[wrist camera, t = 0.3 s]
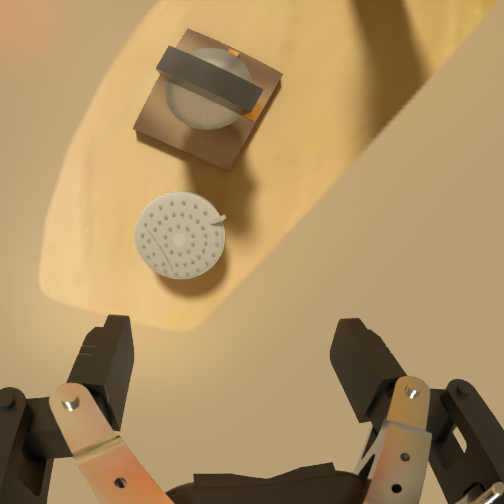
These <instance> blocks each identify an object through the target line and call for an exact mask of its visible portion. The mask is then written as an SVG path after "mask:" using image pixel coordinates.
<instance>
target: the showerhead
mask: <svg viewBox="0 0 504 504" xmlns="http://www.w3.org/2000/svg"><path fill="white" fill-rule="evenodd" d="M225 218H226V216H225V215H222V216H220V214H219V213H218V211H217V210H216V208H215V207H214V206H213V205H212V204H211V203H210V202H209V201H208V200H207V199H205V198H204V197H202V196H200V195H198V194H195V193H192V192H187V191H173V192H168V193H165V194H162V195H160V196H158V197H157V198H155V199H154V200H152V201H151V202H150V203H149V204H148V205H147V206H146V208H145V209H144V210H143V211H142V213H141V214H140V216H139V218H138V221H137V224H136V228H135V243H136V247H137V250H138V252H139V255H140V256H141V258H142V260H143V261H144V262H145V263H146V265H147V266H148V267H150V268H151V269H152V270H153V271H155V272H156V273H158V274H160V275H162V276H165V277H168V278H172V279H190V278H194V277H197V276H199V275H201V274H203V273H205V272H207V271H208V270H209V269H210V268H212V267H213V266H214V265H215V263H216V262H217V261H218V259H219V258H220V256H221V254H222V252H223V249H224V245H225V229H224V225H223V222H222V221H223V220H224V219H225Z"/></svg>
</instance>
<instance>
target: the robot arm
mask: <svg viewBox="0 0 504 504" xmlns="http://www.w3.org/2000/svg"><path fill="white" fill-rule="evenodd" d="M330 361H331V364H332V366H333V368H334V370H335V372H336V374H337V377H338V379H339V381H340V383H341V385H342V387H343V389H344V391H345V393H346V395H347V398H348V400H349V402H350V404H351V406H352V408H353V410H354V412H355V414H356V417H357V419H358V421H359V423H364V422H369V421H371V423H372V427H371V429H370V430H369V433H368V436H367V439H366V442H365V445H364V447H363V450H362V453H361V455H360V458H359V460H358V463H357V465H356V467H355V469H354V471H353V473H349V472H345V471H335V468H334V465H333V463H332V462H331V463H326V464H319V465H313V466H307V467H300V468H298V469H295V470H292V471H290V472H287V473H284V474H281V475H278V476H275V477H272V478H268V479H263V478H254V477H248V476H241V475H235V474H193V475H194V482H192V483H187V484H184V485H181V486H177V487H175V488H173V489H171V490H169V491H167V492H164V491H163V490H162V489H161V488H160V487H159V486H158V484H157V483H156V482H155V481H154V479H153V478H152V477H151V476H150V475H149V473H148V472H147V471H146V470H145V468H144V467H143V466H142V465H141V463H140V462H139V461H138V459H137V458H136V457H135V455H134V454H133V453H132V451H131V450H130V448H129V447H128V446H127V444H126V443H125V442H124V440H123V439H122V438H121V437H120V436H117V435H116V434H115V433H114V431H120V429H121V423H122V417H123V412H124V407H125V402H126V396H127V392H128V387H129V382H130V377H131V373H132V368H133V363H134V346H133V339H132V332H131V325H130V318H129V316H124V315H110V314H109V315H108V317H107V320H106V322H105V324H104V327H95V328H94V329H93V330H91V331H90V332H89V333H88V334H87V335H86V337H85V340H84V342H83V345H82V347H81V349H80V351H79V354H78V356H77V358H76V361H75V363H74V365H73V368H72V370H71V373H70V376H69V378H68V380H67V383H65V384H62V385H60V386H58V387H57V388H55V389H54V390H53V391H52V393H51V394H50V396H49V397H45V398H33V399H26V398H25V395H24V394H23V393H22V391H20V390H19V389H16V388H12V387H8V388H3V389H1V390H0V504H47V496H48V490H49V483H50V478H51V472H52V467H53V462H54V458H64V457H73V458H74V460H75V462H76V464H77V466H78V467H79V469H80V471H81V473H82V474H83V476H84V478H85V480H86V481H87V483H88V485H89V486H90V488H91V490H92V491H93V493H94V494H95V496H96V497H97V499H98V501H99V502H100V504H419V501H420V497H421V492H422V488H423V483H424V479H425V474H426V469H427V463H428V461H429V463H430V465H431V467H432V469H433V471H434V473H435V476H436V478H437V480H438V482H439V484H440V486H441V489H442V491H443V493H444V495H445V498H446V500H447V502H448V504H504V430H503V428H502V427H501V425H500V424H499V422H498V421H497V419H496V418H495V416H494V415H493V413H492V412H491V411H490V409H489V408H488V406H487V405H486V403H485V402H484V401H483V399H482V398H481V396H480V395H479V394H478V392H477V391H476V389H475V388H474V387H473V386H472V385H471V384H470V383H468V382H467V381H464V380H461V379H455V380H452V381H450V382H449V384H448V386H447V387H446V389H429V387H428V385H427V384H426V383H425V382H424V381H422V380H421V379H419V378H417V377H413V376H407V375H406V373H405V372H404V370H403V369H402V368H401V366H400V365H399V363H398V362H397V360H396V359H395V357H394V356H393V354H391V353H390V350H389V349H388V347H386V345H385V343H384V342H383V340H382V339H381V338H380V336H378V335H377V334H376V333H374V332H373V331H372V330H367V328H366V327H365V325H364V324H363V322H362V321H361V320H360V319H359V318H350V319H340V320H339V322H338V325H337V328H336V332H335V335H334V339H333V342H332V345H331V349H330ZM456 427H458V429H459V430H460V432H461V433H462V435H463V437H464V439H465V441H466V444H467V448H466V451H465V453H464V452H463V450H462V449H461V447H460V445H459V443H458V441H457V439H456V438H455V436H454V434H453V431H454V430H455V428H456ZM113 430H114V431H113Z"/></svg>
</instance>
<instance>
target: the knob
mask: <svg viewBox="0 0 504 504" xmlns="http://www.w3.org/2000/svg"><path fill="white" fill-rule="evenodd" d="M156 70H157V71H158V72H159V73H160V74H161V76H162V77H163V78H164V79H165V80H166V82H165V98H166V102H167V105H168V107H169V109H170V111H171V112H172V113H173V115H174V116H175V117H176V118H177V119H178V120H179V121H181V122H182V123H184V124H186V125H187V126H190V127H192V128H196V129H202V130H213V129H218V128H222V127H225V126H227V125H229V124H231V123H233V122H234V121H235V120H237V119H238V118H239V117H240V116H242V117H244V118H246V119H248V120H250V121H252V122H255V120H256V118H257V116H258V115H259V113H260V111H261V109H262V107H263V106H262V105H261V104H259V103H257V101H258V99H259V97H260V96H261V94H262V92H263V90H264V89H262V88H260V87H258V86H256V85H254V84H253V83H252V78H251V75H250V72H249V70H248V69H247V67H246V65H245V64H244V63H243V62H242V61H241V60H240V59H239V58H238V57H237V56H235V55H234V54H232V53H230V52H228V51H225V50H222V49H218V48H202V49H198V50H195V51H192V52H190V53H186V52H184V51H181V50H179V49H176V48H174V47H171V46H169V47H168V48H167V50H166V52H165V53H164V55H163V57H162V58H161V60H160V62H159V64H158V65H157V67H156Z"/></svg>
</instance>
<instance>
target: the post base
mask: <svg viewBox="0 0 504 504" xmlns="http://www.w3.org/2000/svg"><path fill="white" fill-rule="evenodd" d="M202 48H218V49H222V50H225V51H228V52H230V53H232V54H234V55H235V56H237V57H238V58H239V59H240V60H241V61H242V62H243V63H244V64H245V65H246V67H247V69H248V70H249V72H250V75H251V78H252V83H253V84H254V85H256V86H258V87H260V88H262V89H264V90H263V92H262V94H261V96H260V97H259V99H258V101H257V103H259V104H261V105H262V106H263V107H262V109H261V111H260V113H259V115H260V114H261V112H262V110H263V108H264V107H265V105H266V103H267V101H268V99H269V98H270V96H271V94H272V92H273V91H274V89H275V87H276V85H277V84H278V82H279V80H280V79H281V77H282V75H283V74H282V73H280V72H279V71H277V70H275V69H273V68H271V67H269V66H268V65H266V64H264V63H262V62H260V61H258V60H256V59H254V58H252V57H250V56H248V55H246V54H244V53H242V52H240V51H238V50H236V49H234V48H232V47H230V46H227V45H225V44H223V43H221V42H219V41H216V40H214V39H212V38H210V37H207V36H205V35H203V34H200V33H198V32H195V31H193V30H190V29H187V30H186V32H185V34H184V35H183V37H182V38H181V40H180V42H179V43H178V45H177V46H176V49H179V50H181V51H184V52H186V53H190V52H192V51H195V50H198V49H202ZM165 82H166V80H165V79H164V78H163V77H162V76H161V74H160V76H159V78H158V80H157V81H156V83H155V85H154V87H153V89H152V91H151V93H150V95H149V97H148V99H147V101H146V103H145V105H144V107H143V109H142V111H141V113H140V115H139V117H138V119H137V121H136V123H135V125H134V127H133V129H134V130H136V131H139V132H141V133H143V134H146V135H148V136H150V137H153V138H155V139H157V140H159V141H162V142H164V143H166V144H168V145H171V146H173V147H175V148H177V149H180V150H182V151H184V152H186V153H188V154H190V155H193V156H195V157H197V158H199V159H201V160H203V161H206V162H208V163H210V164H212V165H214V166H216V167H218V168H220V169H222V170H224V171H227V172H229V171H230V169H231V167H232V166H233V164H234V162H235V160H236V158H237V156H238V154H239V152H240V150H241V149H242V147H243V145H244V143H245V141H246V139H247V137H248V136H249V134H250V132H251V130H252V128H253V126H254V125H255V123H256V121H257V119H258V117H259V115H258V116H257V118H256V120H255V122H252V121H250V120H248V119H246V118H244V117H242V116H240V117H239V118H238V119H237V120H235V121H234V122H233V123H231V124H229V125H227V126H225V127H222V128H218V129H213V130H202V129H196V128H192V127H190V126H187V125H186V124H184V123H182V122H181V121H179V120H178V119H177V118H176V117H175V116H174V115H173V113H172V112H171V111H170V109H169V107H168V105H167V102H166V98H165Z"/></svg>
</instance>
